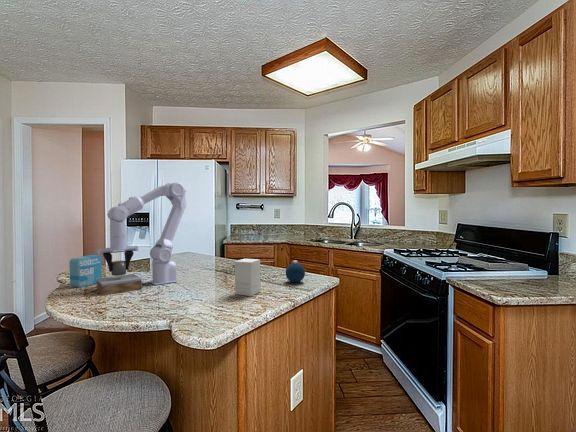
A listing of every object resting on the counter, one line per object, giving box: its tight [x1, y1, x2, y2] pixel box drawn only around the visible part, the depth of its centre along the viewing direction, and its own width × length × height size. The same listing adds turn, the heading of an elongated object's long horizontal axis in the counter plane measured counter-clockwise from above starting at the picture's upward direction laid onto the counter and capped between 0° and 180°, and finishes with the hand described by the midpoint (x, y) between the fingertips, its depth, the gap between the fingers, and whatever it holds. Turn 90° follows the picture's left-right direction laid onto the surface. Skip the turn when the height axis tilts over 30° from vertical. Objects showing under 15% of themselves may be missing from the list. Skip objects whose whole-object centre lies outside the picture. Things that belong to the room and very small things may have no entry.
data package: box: [69, 254, 103, 288], centre depth 144 cm, size 12×4×12 cm, turn 163°
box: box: [96, 281, 143, 296], centre depth 135 cm, size 14×12×3 cm
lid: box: [97, 273, 142, 286], centre depth 135 cm, size 14×12×1 cm
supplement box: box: [234, 258, 262, 297], centre depth 128 cm, size 7×7×13 cm
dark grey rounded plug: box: [111, 260, 127, 277], centre depth 135 cm, size 5×5×5 cm
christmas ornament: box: [285, 260, 306, 284], centre depth 145 cm, size 8×8×10 cm
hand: (118, 270), depth 135 cm, fingers closed on dark grey rounded plug, 5 cm apart
